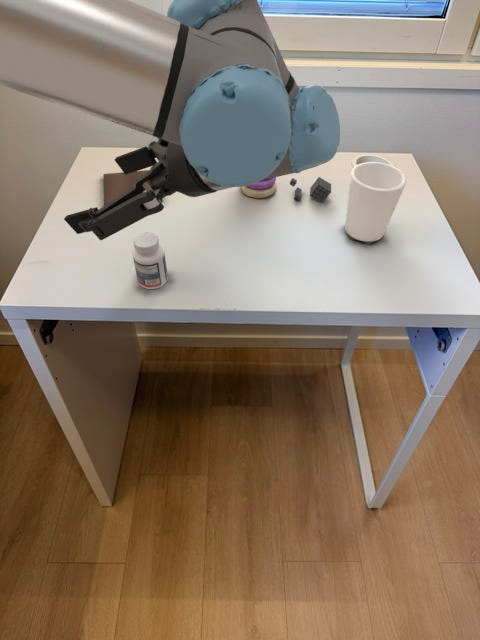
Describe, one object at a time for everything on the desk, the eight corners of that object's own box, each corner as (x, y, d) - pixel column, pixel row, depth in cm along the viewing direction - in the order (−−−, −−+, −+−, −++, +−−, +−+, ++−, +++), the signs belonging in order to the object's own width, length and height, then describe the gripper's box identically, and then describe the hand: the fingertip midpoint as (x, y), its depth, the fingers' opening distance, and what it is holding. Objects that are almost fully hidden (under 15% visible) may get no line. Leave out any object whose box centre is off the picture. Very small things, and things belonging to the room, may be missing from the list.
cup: (399, 236, 92) (418, 178, 83) (365, 255, 88) (381, 196, 78) (361, 213, 97) (376, 155, 88) (328, 229, 93) (339, 171, 84)
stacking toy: (282, 187, 103) (291, 100, 90) (264, 203, 99) (270, 115, 85) (252, 176, 106) (256, 90, 92) (233, 192, 101) (234, 104, 88)
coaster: (104, 207, 97) (104, 204, 96) (104, 177, 105) (103, 173, 104) (162, 201, 99) (162, 198, 98) (157, 172, 106) (157, 169, 106)
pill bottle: (151, 266, 85) (144, 225, 78) (173, 276, 83) (169, 236, 76) (131, 282, 82) (123, 242, 75) (154, 294, 80) (148, 253, 73)
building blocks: (331, 192, 97) (299, 173, 95) (315, 210, 101) (284, 193, 99) (331, 184, 99) (299, 165, 97) (316, 202, 103) (285, 185, 101)
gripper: (182, 256, 51) (68, 273, 63) (259, 129, 64) (152, 164, 76) (140, 201, 46) (26, 231, 59) (233, 76, 59) (124, 123, 72)
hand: (97, 193), depth 68 cm, fingers open, 13 cm apart
